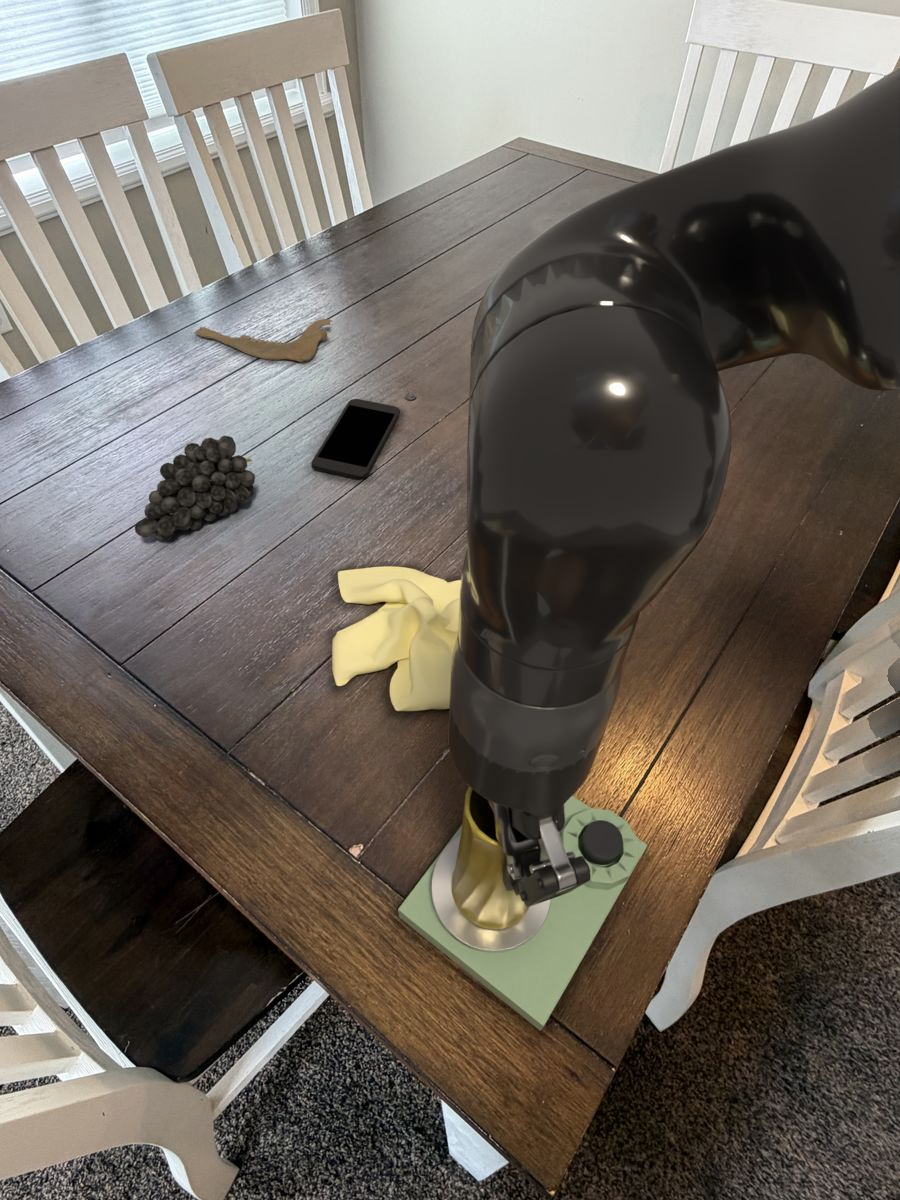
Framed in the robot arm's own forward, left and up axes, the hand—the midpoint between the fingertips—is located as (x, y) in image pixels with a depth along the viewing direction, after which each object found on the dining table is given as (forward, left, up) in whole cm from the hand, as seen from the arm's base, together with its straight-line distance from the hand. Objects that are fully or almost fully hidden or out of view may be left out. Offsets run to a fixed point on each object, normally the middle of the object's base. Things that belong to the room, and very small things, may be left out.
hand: (502, 836), depth 47 cm
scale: (-3, -1, -14) cm, 14 cm away
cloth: (-2, -28, -14) cm, 31 cm away
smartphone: (-4, -60, -14) cm, 61 cm away
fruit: (+17, -52, -14) cm, 56 cm away
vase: (0, 0, -10) cm, 10 cm away
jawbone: (+3, -88, -14) cm, 89 cm away
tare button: (-9, -1, -10) cm, 14 cm away
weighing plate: (0, 0, -10) cm, 10 cm away
